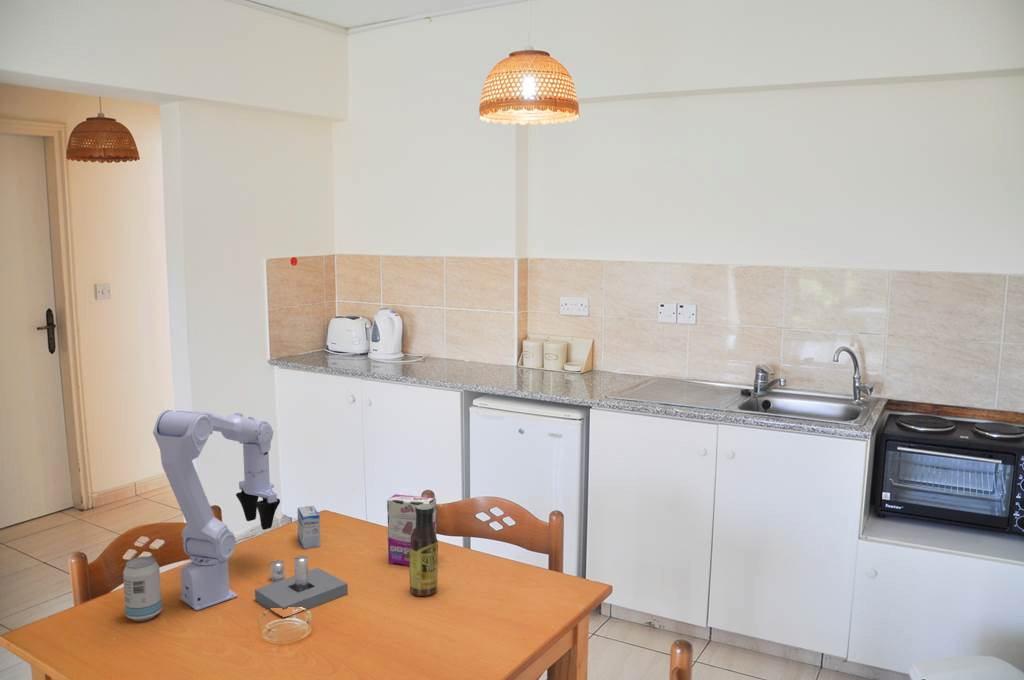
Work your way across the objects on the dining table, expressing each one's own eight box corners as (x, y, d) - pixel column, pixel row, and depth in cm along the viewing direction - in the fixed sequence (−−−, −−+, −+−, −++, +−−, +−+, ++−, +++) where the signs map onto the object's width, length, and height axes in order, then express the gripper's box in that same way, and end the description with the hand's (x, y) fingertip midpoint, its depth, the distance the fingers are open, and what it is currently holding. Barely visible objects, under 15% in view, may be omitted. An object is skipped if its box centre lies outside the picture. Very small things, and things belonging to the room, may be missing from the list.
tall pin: (300, 601, 176) (299, 562, 175) (292, 597, 178) (291, 558, 177) (312, 596, 178) (310, 558, 177) (304, 592, 180) (302, 554, 179)
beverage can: (169, 610, 172) (166, 557, 170) (146, 625, 165) (143, 570, 163) (142, 606, 173) (138, 553, 172) (118, 621, 167) (114, 566, 165)
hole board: (283, 618, 168) (283, 607, 168) (255, 600, 176) (254, 589, 176) (347, 594, 180) (347, 583, 179) (318, 577, 188) (317, 567, 188)
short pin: (275, 583, 185) (275, 566, 184) (268, 579, 187) (268, 563, 186) (287, 579, 187) (286, 562, 187) (280, 575, 189) (279, 559, 189)
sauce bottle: (424, 600, 177) (423, 514, 174) (403, 592, 181) (402, 507, 178) (444, 589, 182) (443, 505, 179) (424, 582, 186) (423, 500, 183)
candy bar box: (437, 561, 197) (437, 497, 195) (429, 569, 193) (429, 504, 190) (396, 556, 201) (395, 492, 198) (387, 563, 196) (386, 499, 194)
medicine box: (297, 538, 211) (296, 507, 210) (314, 536, 213) (313, 504, 212) (303, 549, 204) (302, 517, 203) (321, 546, 206) (320, 514, 205)
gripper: (287, 472, 189) (289, 527, 191) (257, 460, 199) (259, 512, 201) (260, 479, 184) (262, 535, 186) (230, 465, 194) (232, 519, 196)
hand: (258, 524), depth 193 cm, fingers open, 7 cm apart
